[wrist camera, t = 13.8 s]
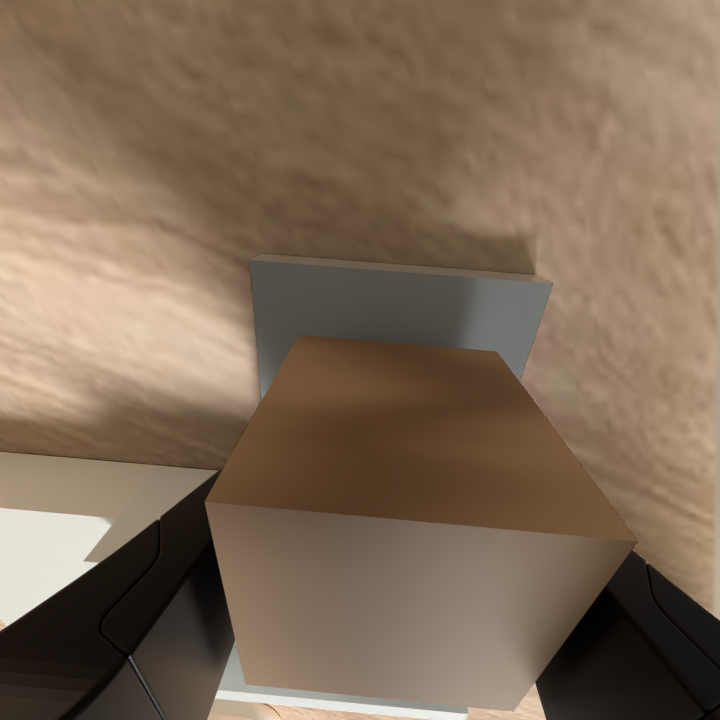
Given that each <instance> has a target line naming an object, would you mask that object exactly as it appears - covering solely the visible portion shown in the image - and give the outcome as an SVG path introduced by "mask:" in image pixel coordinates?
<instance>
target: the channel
mask: <svg viewBox="0 0 720 720" xmlns="http://www.w3.org/2000/svg"><path fill="white" fill-rule="evenodd" d="M216 472H217V471H216V470H205V469H193V468H182V467H170V466H159V465H147V464H135V463H124V462H112V461H101V460H89V459H78V458H66V457H55V456H43V455H32V454H20V453H9V452H0V620H1V621H2V622H3V623H4V624H5V625H6V626H8V625H10V624H11V623H13V622H14V621H16V620H17V619H19V618H20V617H22V616H23V615H24V614H26V613H27V612H29V611H30V610H32V609H33V608H35V607H36V606H38V605H39V604H41V603H42V602H43V601H45V600H46V599H48V598H49V597H51V596H52V595H54V594H55V593H57V592H58V591H60V590H61V589H62V588H64V587H65V586H67V585H68V584H70V583H71V582H73V581H74V580H76V579H77V578H78V577H80V576H81V575H83V574H84V573H86V572H87V571H88V570H90V569H91V568H93V567H94V566H95V565H97V564H98V563H100V562H101V561H102V560H104V559H105V558H107V557H108V556H110V555H111V554H112V553H114V552H115V551H116V550H118V549H119V548H120V547H121V546H123V545H124V544H125V543H127V542H128V541H129V540H131V539H132V538H133V537H135V536H136V535H137V534H139V533H140V532H141V531H142V530H144V529H145V528H146V527H147V526H149V525H150V524H151V523H152V522H154V521H155V520H157V519H158V520H160V516H162V515H163V514H164V513H165V512H167V511H168V510H169V509H170V508H172V507H173V506H174V505H175V504H177V503H178V502H179V501H180V500H182V499H183V498H184V497H186V496H187V495H188V494H189V493H191V492H192V491H193V490H194V489H196V488H197V487H198V486H199V485H201V484H202V483H203V482H204V481H206V480H207V479H208V478H209V477H211V476H212V475H213V474H215V473H216ZM215 699H224V700H234V701H245V702H255V703H265V704H276V705H286V706H296V707H307V708H317V709H328V710H338V711H348V712H359V713H369V714H379V715H390V716H400V717H410V718H421V719H431V720H465V719H466V717H467V716H468V709H467V707H464V706H454V705H444V704H434V703H424V702H414V701H404V700H394V699H384V698H374V697H365V696H355V695H345V694H335V693H325V692H315V691H305V690H295V689H285V688H275V687H265V686H255V685H245V681H244V677H243V672H242V668H241V663H240V659H239V654H238V650H237V645H236V641H235V642H234V645H233V648H232V651H231V654H230V656H229V659H228V662H227V665H226V668H225V671H224V673H223V676H222V679H221V682H220V685H219V688H218V691H217V693H216V696H215Z"/></svg>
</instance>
